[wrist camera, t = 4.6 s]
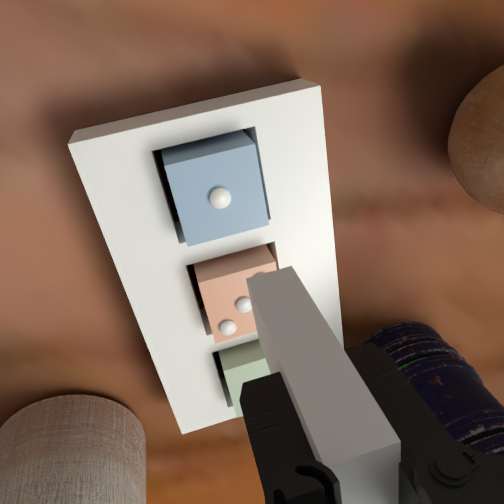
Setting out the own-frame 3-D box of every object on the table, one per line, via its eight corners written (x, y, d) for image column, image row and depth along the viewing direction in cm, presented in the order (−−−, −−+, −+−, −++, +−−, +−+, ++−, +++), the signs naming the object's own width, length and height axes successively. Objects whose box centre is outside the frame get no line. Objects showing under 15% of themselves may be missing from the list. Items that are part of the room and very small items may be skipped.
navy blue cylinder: (441, 304, 37) (606, 460, 24) (446, 382, 42) (585, 545, 29) (331, 347, 36) (440, 532, 23) (350, 421, 41) (448, 606, 28)
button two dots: (228, 384, 33) (237, 420, 30) (215, 339, 31) (223, 373, 28) (285, 366, 34) (300, 399, 31) (277, 321, 32) (291, 352, 29)
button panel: (178, 403, 35) (182, 434, 32) (74, 130, 24) (67, 144, 21) (331, 355, 36) (346, 381, 34) (301, 78, 25) (320, 85, 23)
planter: (-41, 438, 32) (-102, 586, 23) (88, 364, 31) (72, 489, 23) (61, 503, 37) (40, 642, 29) (171, 441, 37) (181, 564, 29)
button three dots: (207, 313, 30) (216, 345, 27) (191, 256, 27) (198, 284, 25) (272, 294, 30) (287, 324, 27) (261, 237, 28) (276, 263, 25)
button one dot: (181, 222, 26) (188, 248, 23) (160, 148, 24) (164, 167, 21) (255, 203, 27) (270, 226, 24) (241, 129, 24) (256, 144, 22)
